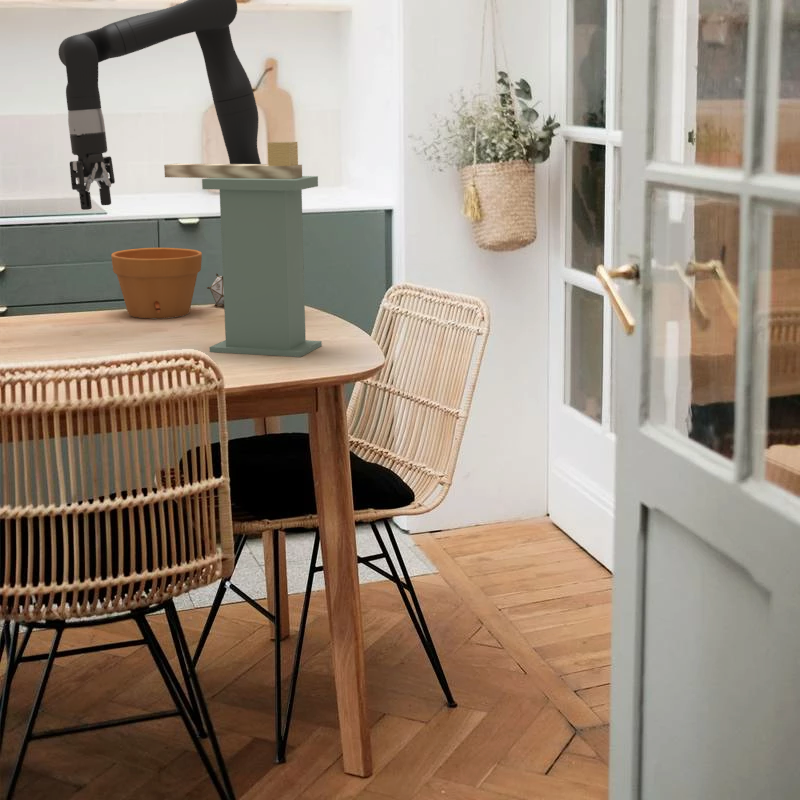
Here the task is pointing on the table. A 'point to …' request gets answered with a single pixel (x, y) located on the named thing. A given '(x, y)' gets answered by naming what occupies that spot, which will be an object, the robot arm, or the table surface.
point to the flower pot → (157, 280)
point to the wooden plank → (233, 171)
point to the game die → (217, 290)
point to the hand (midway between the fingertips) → (96, 207)
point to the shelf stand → (263, 265)
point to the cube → (282, 153)
